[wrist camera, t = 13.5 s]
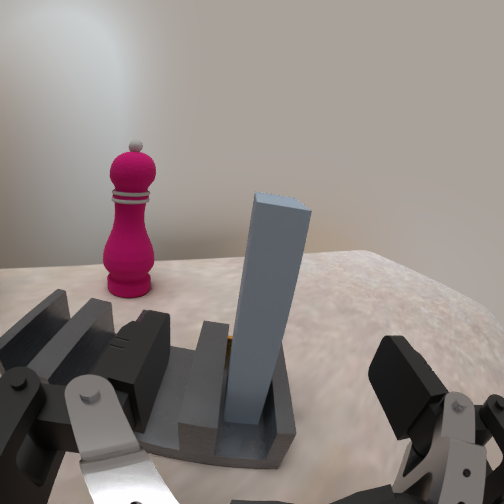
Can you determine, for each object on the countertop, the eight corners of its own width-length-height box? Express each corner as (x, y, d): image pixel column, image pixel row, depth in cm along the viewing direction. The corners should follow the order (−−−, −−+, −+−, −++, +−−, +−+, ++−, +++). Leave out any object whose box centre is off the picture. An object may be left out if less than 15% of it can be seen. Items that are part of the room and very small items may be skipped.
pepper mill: (154, 277, 40) (164, 142, 34) (153, 301, 34) (164, 139, 28) (109, 275, 38) (114, 140, 32) (100, 298, 31) (103, 136, 25)
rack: (10, 393, 13) (-11, 347, 12) (67, 327, 24) (60, 287, 22) (277, 469, 14) (297, 433, 13) (269, 368, 25) (279, 327, 24)
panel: (222, 421, 17) (257, 201, 12) (227, 376, 21) (255, 191, 17) (257, 424, 17) (311, 211, 12) (256, 379, 21) (294, 198, 17)
